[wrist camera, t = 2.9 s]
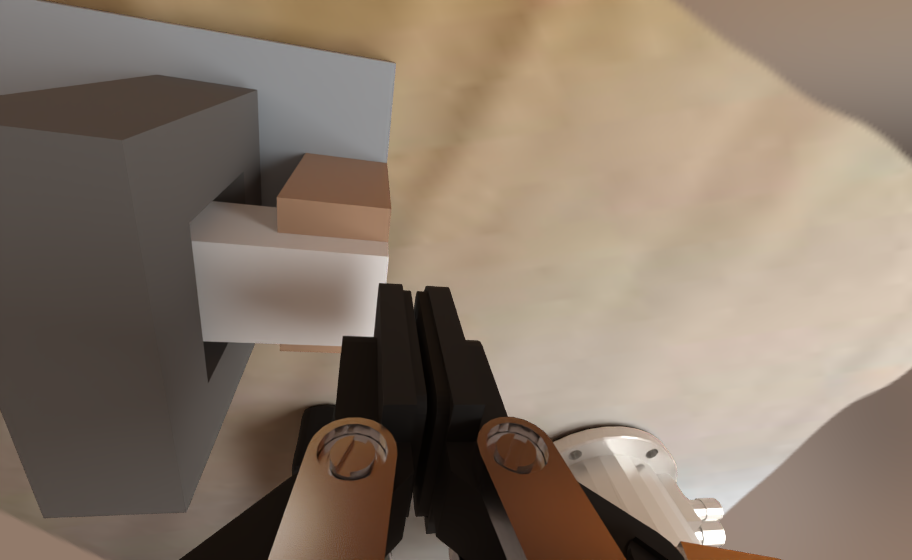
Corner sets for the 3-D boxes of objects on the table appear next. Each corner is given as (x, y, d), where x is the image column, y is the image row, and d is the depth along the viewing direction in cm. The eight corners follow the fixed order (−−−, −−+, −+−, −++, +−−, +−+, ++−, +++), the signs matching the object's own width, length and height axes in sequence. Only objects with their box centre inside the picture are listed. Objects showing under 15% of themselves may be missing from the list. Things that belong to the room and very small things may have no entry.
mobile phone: (276, 479, 20) (356, 642, 27) (342, 464, 20) (405, 630, 27) (294, 402, 24) (359, 560, 31) (349, 391, 24) (401, 550, 31)
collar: (257, 89, 15) (122, 140, 7) (265, 316, 19) (186, 512, 11) (157, 74, 14) (-120, 111, 6) (188, 313, 18) (43, 517, 10)
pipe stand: (394, 62, 17) (408, 74, 10) (370, 324, 22) (368, 459, 15) (-314, -63, 12) (-1262, -212, 5) (-131, 301, 18) (-476, 475, 11)
